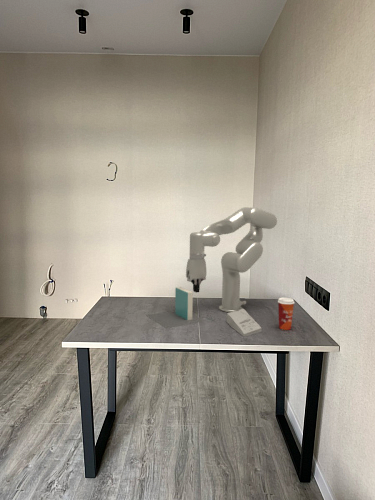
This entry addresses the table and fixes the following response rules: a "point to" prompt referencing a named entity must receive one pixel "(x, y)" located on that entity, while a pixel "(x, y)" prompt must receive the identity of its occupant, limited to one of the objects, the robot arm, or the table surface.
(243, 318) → the ramp
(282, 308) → the paper cup
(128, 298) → the table surface
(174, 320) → the mat
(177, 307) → the tile
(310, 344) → the table surface
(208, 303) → the table surface
